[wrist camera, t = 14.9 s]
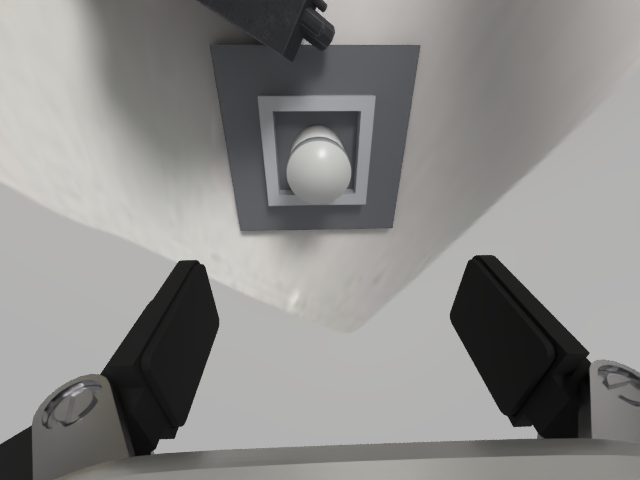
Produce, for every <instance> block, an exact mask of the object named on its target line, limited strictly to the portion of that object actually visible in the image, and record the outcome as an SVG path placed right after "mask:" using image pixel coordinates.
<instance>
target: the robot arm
mask: <svg viewBox="0 0 640 480" xmlns="http://www.w3.org/2000/svg"><path fill="white" fill-rule="evenodd" d="M450 320H451V323H452V325H453V326H454V328H455V330H456V332H457V333H458V335H459V337H460V339H461V341H462V342H463V344H464V346H465V348H466V350H467V352H468V354H469V355H470V357H471V359H472V361H473V362H474V364H475V366H476V368H477V370H478V372H479V373H480V375H481V377H482V379H483V381H484V382H485V384H486V386H487V388H488V390H489V391H490V393H491V395H492V397H493V399H494V400H495V402H496V404H497V406H498V407H499V409H500V411H501V412H502V413H503V414H504V415H506V416H508V418H509V419H510V421H511V423H512V425H513V427H522V426H523V427H524V426H532V425H533V426H534V427H535V429H536V430H537V432H538V437H537V439H508V440H479V441H478V440H475V441H443V442H413V443H387V444H386V443H385V444H357V445H333V446H332V445H330V446H307V447H306V446H304V447H280V448H258V449H257V448H256V449H232V450H213V451H198V452H197V451H196V452H180V453H164V454H154V452H153V450H155V449H156V447H157V444H158V442H159V439H174V438H175V435H176V433H177V430H178V427H179V426H180V427H181V426H183V425H184V424H185V422H186V420H187V417H188V414H189V411H190V408H191V405H192V402H193V399H194V397H195V394H196V391H197V388H198V385H199V382H200V379H201V377H202V374H203V371H204V368H205V365H206V362H207V359H208V357H209V354H210V351H211V348H212V345H213V342H214V339H215V337H216V334H217V331H218V328H219V317H218V313H217V309H216V305H215V302H214V298H213V294H212V291H211V287H210V283H209V279H208V275H207V272H206V268H205V266H204V265H203V264H200V263H199V261H197V260H185V261H179V262H178V263H177V265H176V266H175V268H174V269H173V271H172V272H171V273H170V275H169V277H168V278H167V279H166V281H165V282H164V284H163V285H162V287H161V288H160V290H159V291H158V293H157V294H156V296H155V297H154V299H153V300H152V301H151V302H150V303H149V304H148V305H147V306H146V308H145V310H144V311H143V312H142V314H141V315H140V317H139V318H138V320H137V321H136V323H135V324H134V326H133V327H132V329H131V330H130V331H129V333H128V334H127V336H126V337H125V339H124V340H123V342H122V343H121V345H120V346H119V348H118V349H117V351H116V352H115V354H114V355H113V356H112V358H111V359H110V361H109V362H108V364H107V365H106V367H105V368H104V370H103V371H102V373H101V374H100V375H99V374H89V375H85V376H80V377H78V378H76V379H73V380H71V381H69V382H67V383H65V384H64V385H62V386H61V387H59V388H58V389H56V390H55V391H54V392H53V393H52V394H50V395H49V396H48V397H47V398H46V399H45V401H44V402H43V403H42V404H41V405H40V406H39V408H38V410H37V411H36V413H35V415H34V418H33V422H32V426H30V427H29V428H27V429H25V430H23V431H22V432H20V433H19V434H17V435H15V436H13V437H12V438H10V439H8V440H7V441H5V442H4V443H2V444H0V480H640V373H639V372H637V371H636V370H634V369H632V368H630V367H628V366H626V365H623V364H620V363H617V362H614V361H609V360H597V361H594V362H593V363H590V361H589V360H588V359H587V358H586V357H587V356H588V355H589V352H588V351H587V350H586V349H585V348H584V347H583V346H582V345H581V344H580V342H579V341H577V339H576V338H575V337H574V336H573V335H572V334H571V333H570V332H569V331H568V330H567V329H566V328H565V327H564V326H563V325H562V324H561V323H560V322H559V321H558V320H557V319H556V318H555V317H554V316H553V315H552V314H551V313H550V312H549V311H548V310H547V309H546V308H545V307H544V306H543V305H542V304H541V303H540V302H539V301H538V300H537V299H536V298H535V297H534V296H533V295H532V294H531V293H530V291H529V290H528V289H527V288H526V287H525V286H524V285H523V284H522V283H521V282H520V281H518V279H517V278H516V277H515V276H514V275H513V274H512V273H511V272H510V271H509V270H508V269H507V268H506V267H505V266H504V265H503V264H502V263H501V262H500V261H499V260H498V259H497V258H496V257H495V256H492V255H478V256H477V255H476V256H474V257H473V258H472V260H469V261H468V263H467V266H466V269H465V271H464V274H463V277H462V281H461V283H460V286H459V289H458V292H457V295H456V298H455V300H454V303H453V306H452V309H451V312H450Z"/></svg>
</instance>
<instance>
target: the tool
mask: <svg viewBox="0 0 640 480" xmlns="http://www.w3.org/2000/svg"><path fill="white" fill-rule="evenodd" d="M196 1H198V2H199V3H201V4H203V5H204V6H206V7H207V8H209V9H210V10H212V11H213V12H215V13H216V14H218V15H220V16H221V17H223V18H224V19H226V20H227V21H229V22H230V23H232V24H233V25H235V26H237V27H238V28H240V29H241V30H243V31H244V32H246V33H247V34H249V35H250V36H252V37H254V38H255V39H257V40H258V41H260V42H261V43H263V44H264V45H266V46H267V47H269V48H271V49H272V50H274V51H275V52H277V53H278V54H280V55H281V56H283V57H284V58H286V59H288V60H289V61H291V62H293V60H294V58H295V55H296V53H297V51H298V49H299V46H300V44H301V42H302V39H303V38H304V39H305V40H306V41H308V42H309V43H311V44H312V45H313V46H315V47H316V48H317V49H319V50H320V51H323V50H325V49H327V48H328V46H329V45H330V43H331V42H332V39H333V37H334V34H335V30H334V26H333V25H332V24H330V23H329V22H328V21H327V20H326V19H325V18H323V17H322V16H321V15H320V14H319V13H318V12H316V11H315V9H316V7H317V8H318V9H319V10H321V11H322V12H324V11H325V10H326V8H327V4H326V3H325V2H324V1H323V0H196Z"/></svg>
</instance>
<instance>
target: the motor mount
mask: <svg viewBox="0 0 640 480" xmlns="http://www.w3.org/2000/svg"><path fill="white" fill-rule="evenodd" d="M210 49H211V55H212V61H213V67H214V73H215V79H216V85H217V91H218V97H219V103H220V109H221V115H222V121H223V127H224V133H225V139H226V145H227V151H228V157H229V163H230V169H231V175H232V181H233V187H234V193H235V199H236V205H237V211H238V217H239V223H240V229H241V231H256V230H313V229H370V228H392V227H393V220H394V214H395V207H396V201H397V194H398V188H399V181H400V175H401V168H402V162H403V155H404V148H405V142H406V135H407V129H408V122H409V116H410V109H411V103H412V96H413V90H414V83H415V77H416V70H417V64H418V57H419V50H420V45H329V46H328V48H327V49H325V50H323V51H320V50H319V49H317V48H316V47H315V46H313V45H300V46H299V49H298V51H297V53H296V55H295V58H294V60H293V62H291V61H289V60H288V59H286V58H284V57H283V56H281V55H280V54H278V53H277V52H275V51H274V50H272V49H271V48H269V47H267V46H266V45H210ZM313 125H322V126H326V127H328V128H330V129H331V130H333V131H334V132H335V133H336V134H337V135H338V137H339V138H340V140H341V143H342V145H343V148H344V150H345V152H346V154H347V156H348V159H349V161H350V164H351V179H350V183H349V185H348V187H347V189H346V190H345V192H344V193H343V194H342V195H341V196H340V197H339V198H337V199H336V200H334V201H332V202H329V203H326V204H312V203H308V202H306V201H303V200H302V199H300V198H299V197H298V196H296V195H295V194H294V192H293V191H292V190H291V188H290V186H289V184H288V181H287V176H286V168H287V163H288V159H289V156H290V153H291V149H292V145H293V141H294V139H295V137H296V136H297V135H298V133H299V132H300V131H302V130H303V129H305V128H306V127H309V126H313Z"/></svg>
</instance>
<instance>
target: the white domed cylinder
mask: <svg viewBox="0 0 640 480" xmlns="http://www.w3.org/2000/svg"><path fill="white" fill-rule="evenodd" d="M286 176H287V181H288V184H289V186H290V188H291V190H292V191H293V192H294V194H295V195H296V196H298V197H299V198H300V199H302V200H303V201H306V202H308V203H312V204H326V203H329V202H332V201H334V200H336V199H337V198H339V197H340V196H341V195H342V194H343V193H344V192H345V190H346V189H347V187H348V185H349V183H350V179H351V164H350V161H349V159H348V156H347V154H346V152H345V150H344V148H343V145H342V143H341V140H340V138H339V137H338V135H337V134H336V133H335V132H334V131H333V130H331V129H330V128H328V127H326V126H322V125H313V126H309V127H306V128H305V129H303V130H302V131H300V132H299V133H298V135H297V136H296V137H295V139H294V141H293V145H292V149H291V153H290V156H289V159H288V163H287V168H286Z"/></svg>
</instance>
